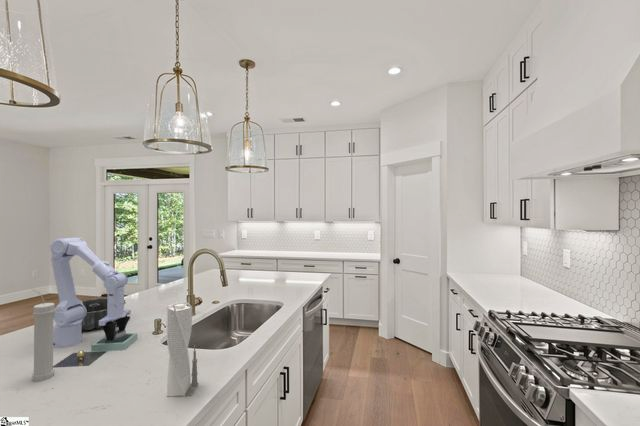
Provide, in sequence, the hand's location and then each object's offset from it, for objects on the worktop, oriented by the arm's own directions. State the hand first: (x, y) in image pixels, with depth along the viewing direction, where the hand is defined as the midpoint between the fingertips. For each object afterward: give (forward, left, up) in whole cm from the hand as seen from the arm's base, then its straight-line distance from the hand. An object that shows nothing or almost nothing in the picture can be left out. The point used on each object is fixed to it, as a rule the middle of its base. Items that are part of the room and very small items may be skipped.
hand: (115, 337), depth 128 cm
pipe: (-10, -25, -4) cm, 27 cm away
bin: (0, 0, -4) cm, 4 cm away
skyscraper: (+36, -37, -4) cm, 52 cm away
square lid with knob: (-6, -12, -4) cm, 14 cm away
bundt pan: (-24, +30, -4) cm, 39 cm away
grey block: (0, 0, -2) cm, 2 cm away
